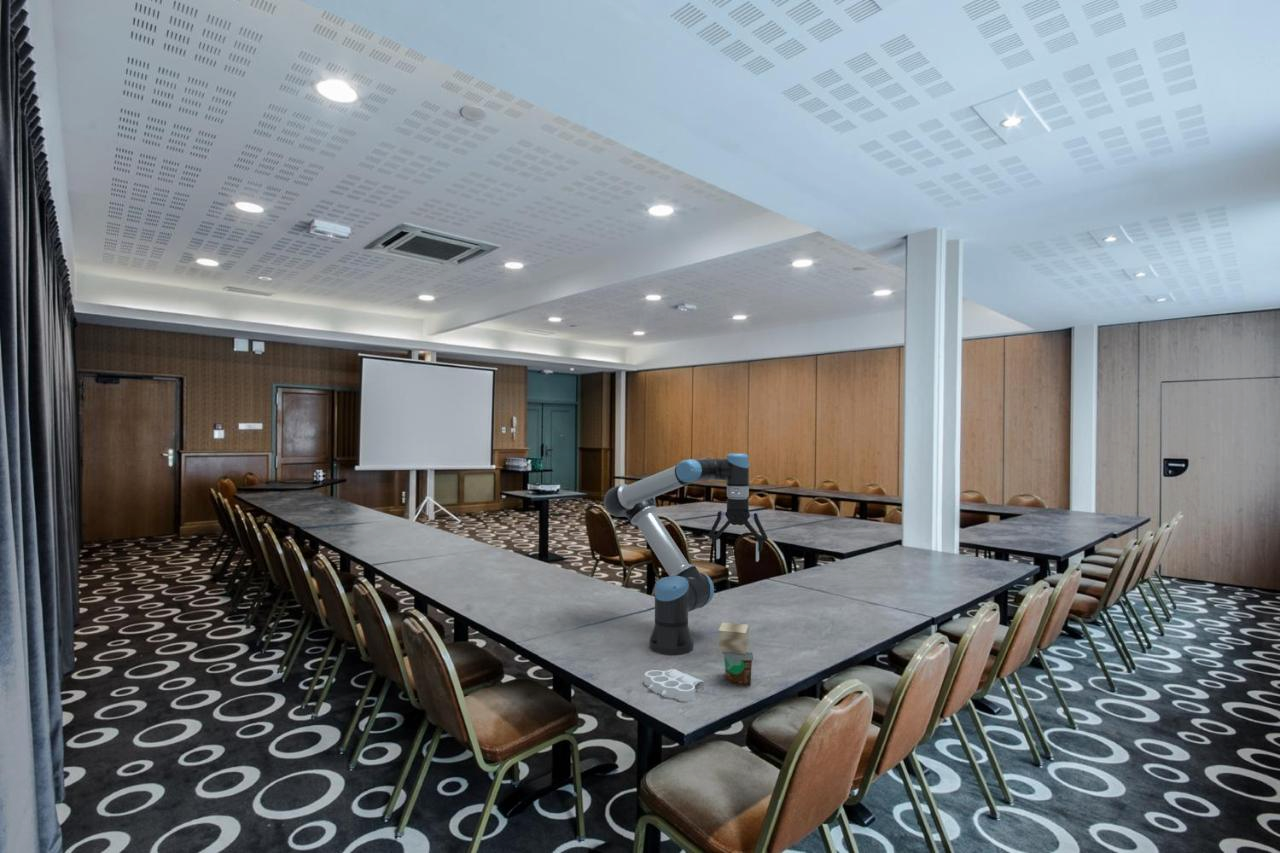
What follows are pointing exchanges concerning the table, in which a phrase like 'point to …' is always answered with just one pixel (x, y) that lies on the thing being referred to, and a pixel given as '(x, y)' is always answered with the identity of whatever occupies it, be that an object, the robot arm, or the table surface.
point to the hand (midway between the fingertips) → (737, 559)
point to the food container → (738, 668)
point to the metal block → (733, 637)
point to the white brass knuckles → (673, 684)
